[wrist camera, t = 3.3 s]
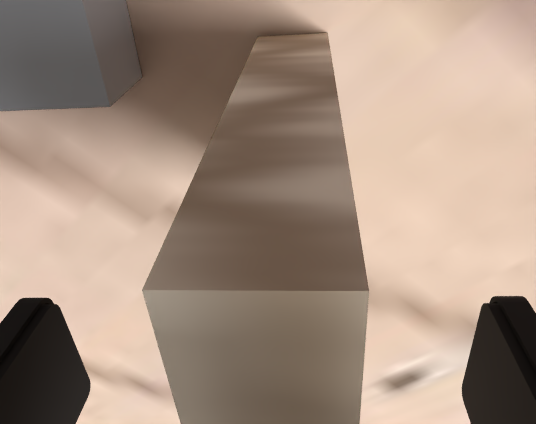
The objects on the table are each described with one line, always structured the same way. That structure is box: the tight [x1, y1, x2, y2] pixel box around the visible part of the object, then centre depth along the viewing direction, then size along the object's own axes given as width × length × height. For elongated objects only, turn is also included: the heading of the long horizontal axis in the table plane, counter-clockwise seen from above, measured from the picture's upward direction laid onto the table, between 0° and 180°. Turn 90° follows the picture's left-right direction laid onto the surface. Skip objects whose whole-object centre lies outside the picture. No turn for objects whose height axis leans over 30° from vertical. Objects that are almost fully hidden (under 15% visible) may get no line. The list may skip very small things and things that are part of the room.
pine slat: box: [142, 33, 369, 424], centre depth 14 cm, size 3×7×16 cm, turn 4°
